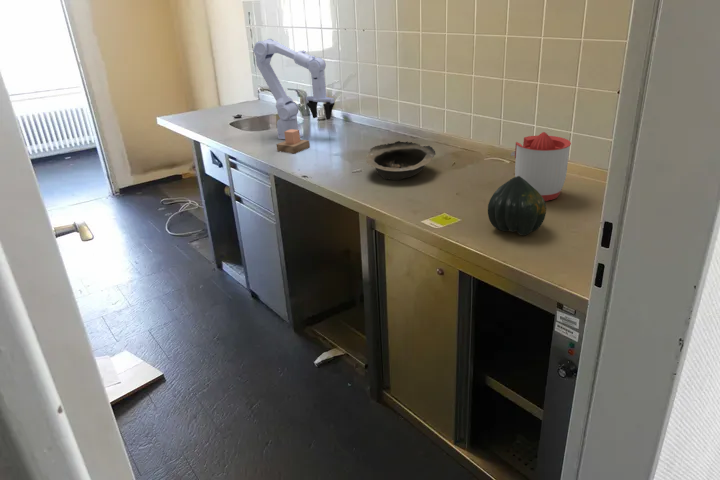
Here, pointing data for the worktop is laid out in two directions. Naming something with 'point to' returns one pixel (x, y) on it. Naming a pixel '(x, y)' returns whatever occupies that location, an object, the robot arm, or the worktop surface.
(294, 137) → the terracotta cube
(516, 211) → the squash
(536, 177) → the citrus juicer
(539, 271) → the worktop surface
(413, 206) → the worktop surface
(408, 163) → the stone bowl
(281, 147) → the walnut block
